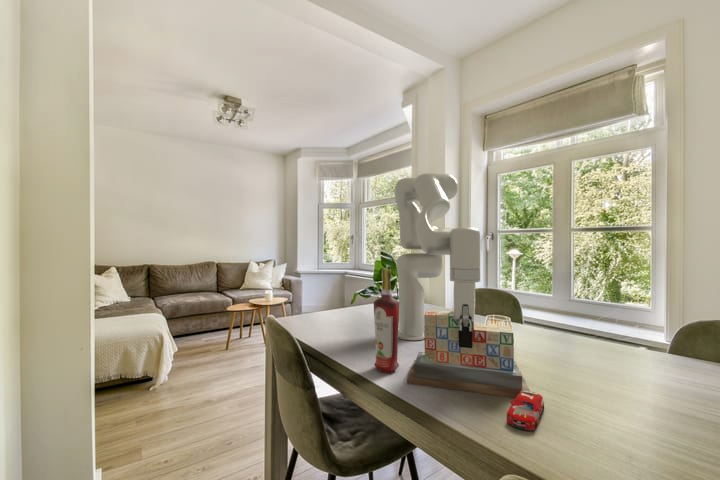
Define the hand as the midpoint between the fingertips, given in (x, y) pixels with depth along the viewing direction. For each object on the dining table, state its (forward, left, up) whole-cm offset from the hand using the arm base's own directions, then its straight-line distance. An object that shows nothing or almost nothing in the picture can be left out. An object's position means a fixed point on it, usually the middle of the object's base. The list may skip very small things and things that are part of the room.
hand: (465, 341), depth 83 cm
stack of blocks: (0, +1, -6) cm, 6 cm away
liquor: (-1, -21, -10) cm, 23 cm away
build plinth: (0, 0, -10) cm, 10 cm away
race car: (+14, +12, -10) cm, 21 cm away
